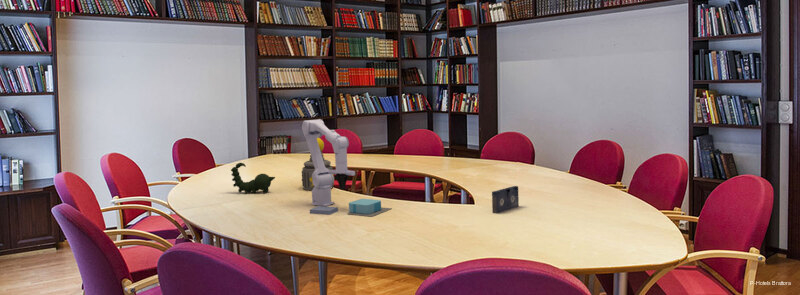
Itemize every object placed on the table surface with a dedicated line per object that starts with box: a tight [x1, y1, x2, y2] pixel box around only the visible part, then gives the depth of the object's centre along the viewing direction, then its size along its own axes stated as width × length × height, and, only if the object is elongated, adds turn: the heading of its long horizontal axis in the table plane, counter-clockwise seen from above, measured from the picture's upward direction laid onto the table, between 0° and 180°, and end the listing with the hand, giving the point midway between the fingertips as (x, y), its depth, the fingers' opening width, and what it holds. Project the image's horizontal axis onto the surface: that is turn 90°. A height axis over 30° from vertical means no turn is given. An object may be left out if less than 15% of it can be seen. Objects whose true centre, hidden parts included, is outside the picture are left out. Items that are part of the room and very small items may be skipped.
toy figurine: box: [230, 162, 276, 195], centre depth 360 cm, size 9×19×25 cm
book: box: [309, 205, 339, 216], centre depth 302 cm, size 11×8×2 cm
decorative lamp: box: [301, 137, 335, 192], centre depth 367 cm, size 19×19×30 cm
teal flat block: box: [348, 198, 382, 214], centre depth 300 cm, size 12×4×12 cm
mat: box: [347, 206, 392, 218], centre depth 300 cm, size 14×18×1 cm
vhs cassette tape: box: [491, 185, 520, 214], centre depth 293 cm, size 18×3×10 cm, turn 135°
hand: (342, 189), depth 307 cm, fingers closed
